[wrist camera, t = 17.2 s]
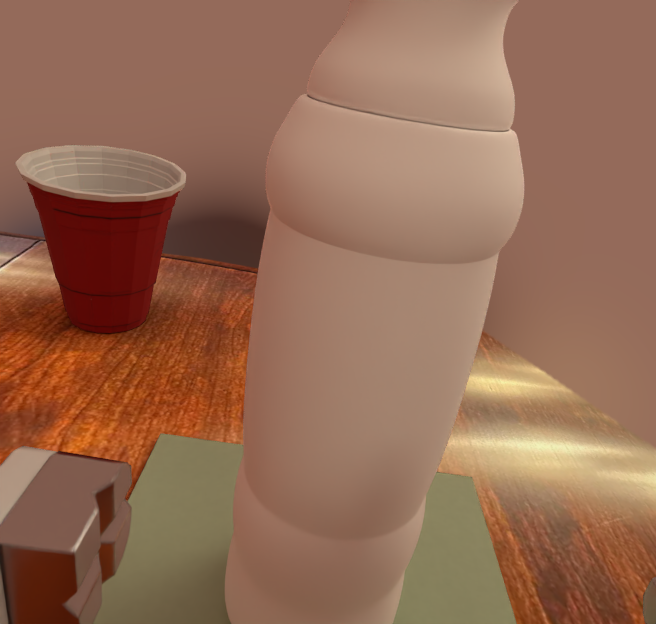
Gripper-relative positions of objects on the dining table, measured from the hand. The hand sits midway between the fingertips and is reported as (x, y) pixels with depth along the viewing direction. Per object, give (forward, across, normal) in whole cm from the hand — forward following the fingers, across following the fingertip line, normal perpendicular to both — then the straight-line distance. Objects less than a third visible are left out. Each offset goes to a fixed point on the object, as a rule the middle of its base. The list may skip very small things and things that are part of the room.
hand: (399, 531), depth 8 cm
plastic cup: (+31, +17, +15) cm, 39 cm away
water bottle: (+9, 0, +14) cm, 17 cm away
